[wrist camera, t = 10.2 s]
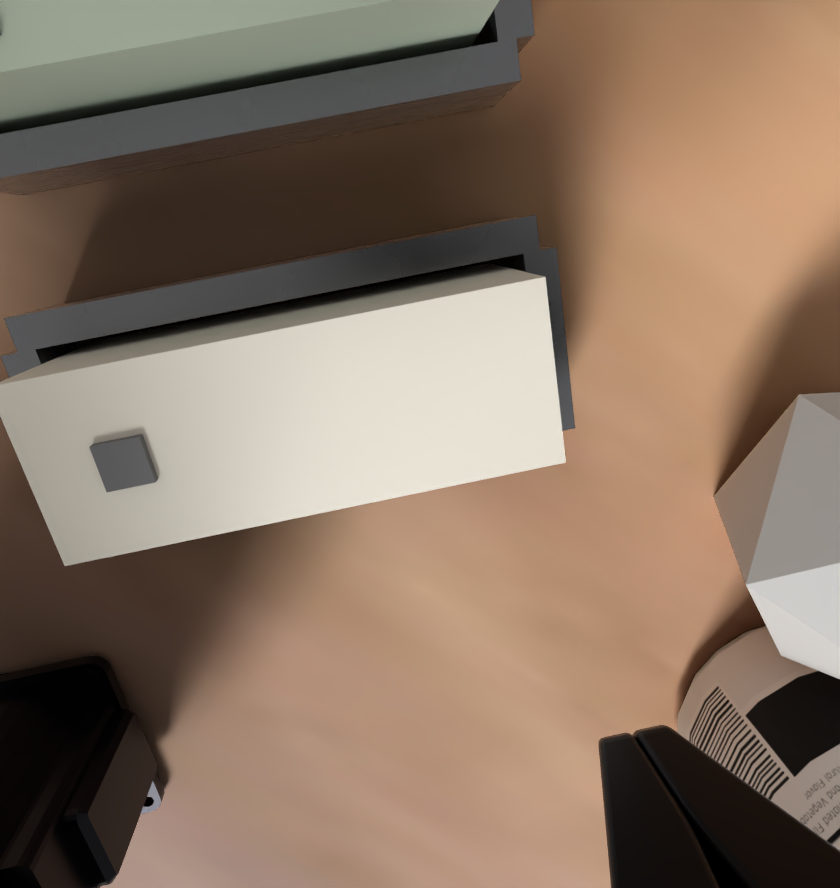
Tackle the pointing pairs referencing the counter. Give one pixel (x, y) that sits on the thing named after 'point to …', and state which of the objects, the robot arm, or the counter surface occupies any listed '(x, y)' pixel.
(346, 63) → the sage key
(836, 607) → the grey angular block
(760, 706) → the supplement can
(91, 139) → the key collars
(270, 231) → the counter surface
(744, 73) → the counter surface
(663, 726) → the robot arm
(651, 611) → the counter surface
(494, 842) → the counter surface
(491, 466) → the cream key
